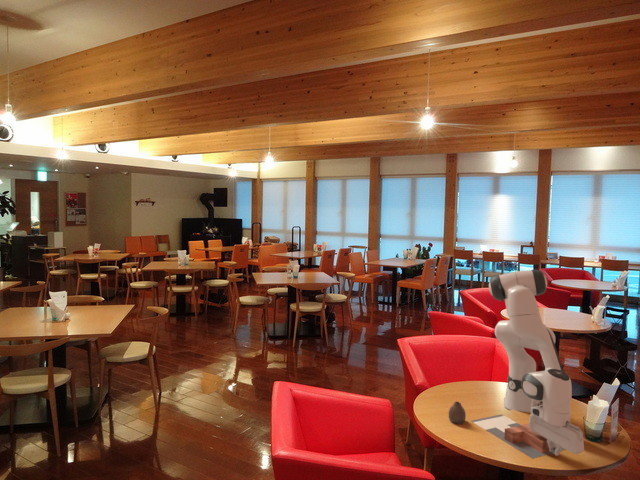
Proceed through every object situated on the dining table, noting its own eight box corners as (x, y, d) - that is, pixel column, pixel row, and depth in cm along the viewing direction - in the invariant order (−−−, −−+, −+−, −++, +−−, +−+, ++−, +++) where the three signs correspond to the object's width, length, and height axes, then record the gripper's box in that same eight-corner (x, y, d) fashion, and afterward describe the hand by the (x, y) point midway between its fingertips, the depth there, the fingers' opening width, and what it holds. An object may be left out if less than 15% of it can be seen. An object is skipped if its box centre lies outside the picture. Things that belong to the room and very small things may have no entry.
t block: (530, 432, 182) (531, 422, 182) (559, 448, 170) (560, 437, 170) (504, 438, 177) (504, 428, 176) (532, 455, 165) (532, 444, 164)
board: (501, 416, 198) (501, 414, 198) (565, 452, 170) (566, 449, 170) (470, 423, 192) (470, 420, 192) (532, 461, 163) (532, 458, 163)
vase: (466, 428, 187) (467, 407, 187) (448, 426, 189) (449, 405, 188) (464, 420, 194) (465, 400, 193) (447, 418, 195) (448, 398, 195)
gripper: (589, 427, 155) (587, 466, 156) (539, 403, 174) (537, 439, 175) (576, 430, 153) (574, 470, 154) (526, 406, 172) (525, 442, 172)
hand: (554, 453), depth 164 cm, fingers closed
